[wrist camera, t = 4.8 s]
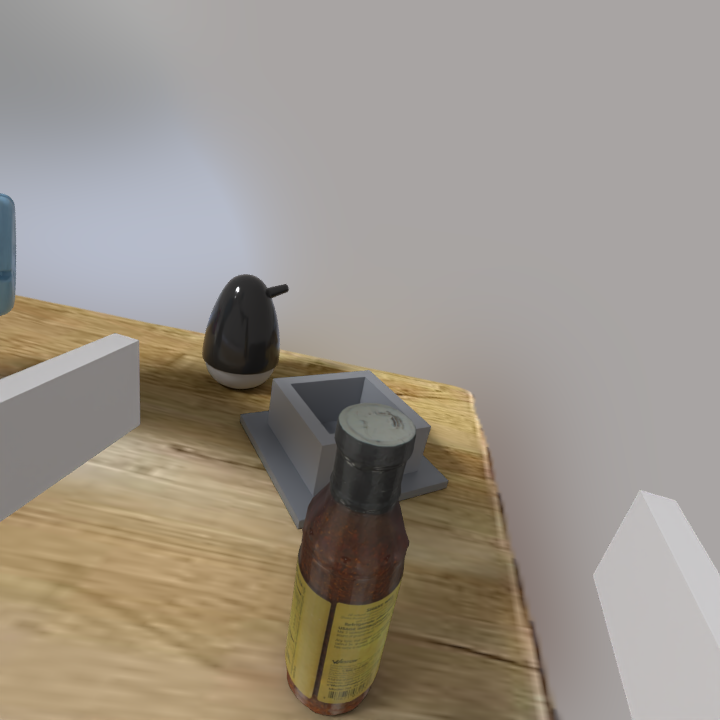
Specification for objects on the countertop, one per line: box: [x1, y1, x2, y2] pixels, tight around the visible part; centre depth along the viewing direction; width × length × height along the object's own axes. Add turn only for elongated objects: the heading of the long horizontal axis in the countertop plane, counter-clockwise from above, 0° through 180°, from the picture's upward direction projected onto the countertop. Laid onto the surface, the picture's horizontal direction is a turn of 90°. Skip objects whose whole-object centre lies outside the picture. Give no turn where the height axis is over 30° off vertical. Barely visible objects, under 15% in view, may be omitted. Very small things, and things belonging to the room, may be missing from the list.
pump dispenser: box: [202, 274, 289, 389], centre depth 61 cm, size 10×10×15 cm
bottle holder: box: [240, 370, 448, 529], centre depth 51 cm, size 18×18×7 cm
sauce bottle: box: [285, 403, 416, 715], centre depth 27 cm, size 7×6×20 cm
